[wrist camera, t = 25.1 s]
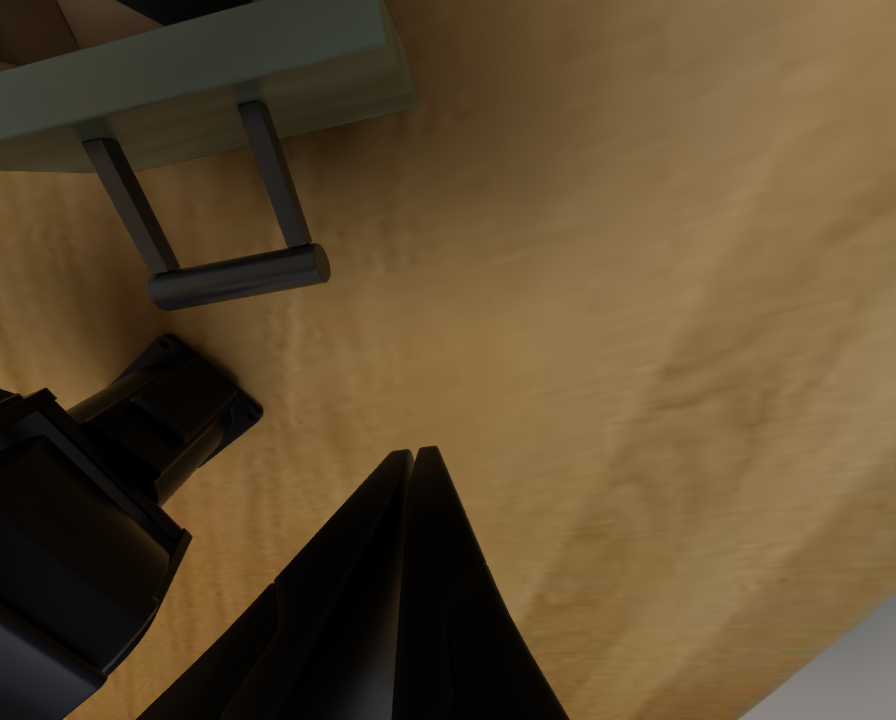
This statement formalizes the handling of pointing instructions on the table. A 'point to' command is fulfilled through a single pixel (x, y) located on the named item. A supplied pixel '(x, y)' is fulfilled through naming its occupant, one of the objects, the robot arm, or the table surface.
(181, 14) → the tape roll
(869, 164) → the table surface
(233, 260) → the drawer
